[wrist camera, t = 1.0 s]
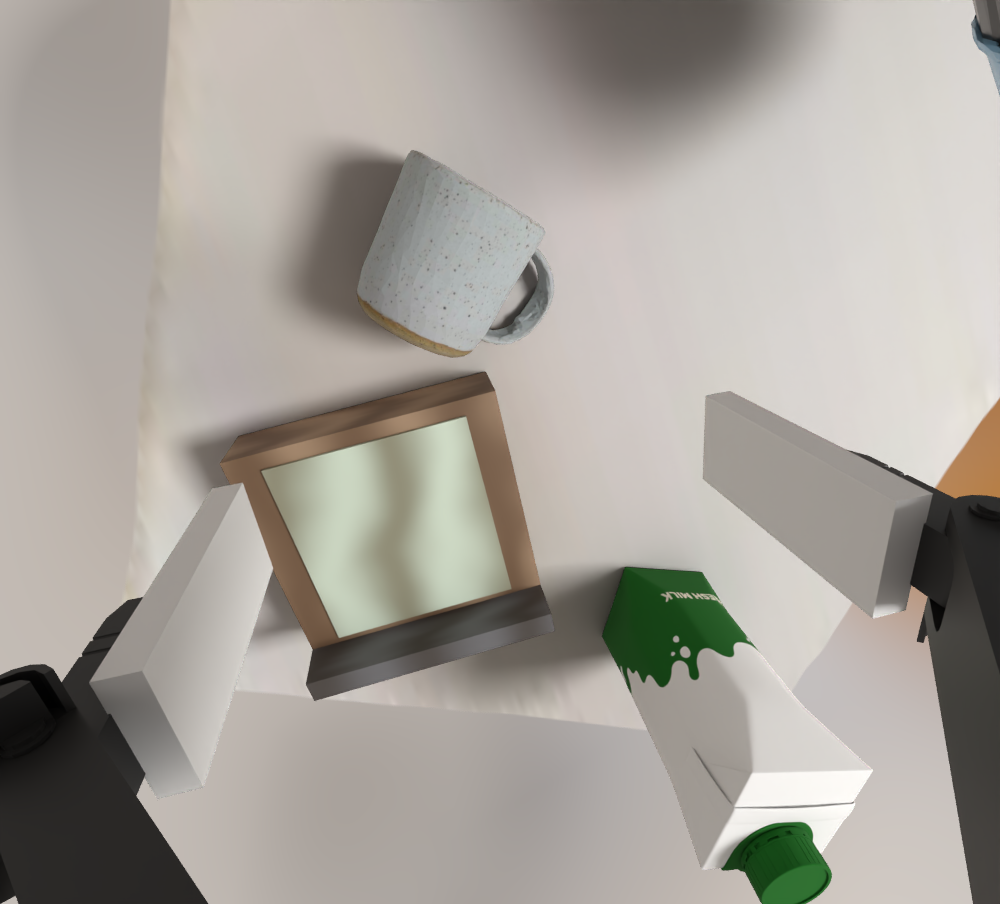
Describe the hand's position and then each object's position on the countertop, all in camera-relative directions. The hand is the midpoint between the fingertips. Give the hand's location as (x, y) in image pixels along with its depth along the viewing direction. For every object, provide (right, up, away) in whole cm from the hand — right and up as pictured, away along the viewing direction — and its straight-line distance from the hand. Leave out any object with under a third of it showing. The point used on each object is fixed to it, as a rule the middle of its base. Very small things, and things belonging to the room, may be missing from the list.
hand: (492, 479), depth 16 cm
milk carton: (+13, -12, +30) cm, 35 cm away
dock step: (-7, -3, +23) cm, 24 cm away
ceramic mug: (-2, +12, +17) cm, 21 cm away
